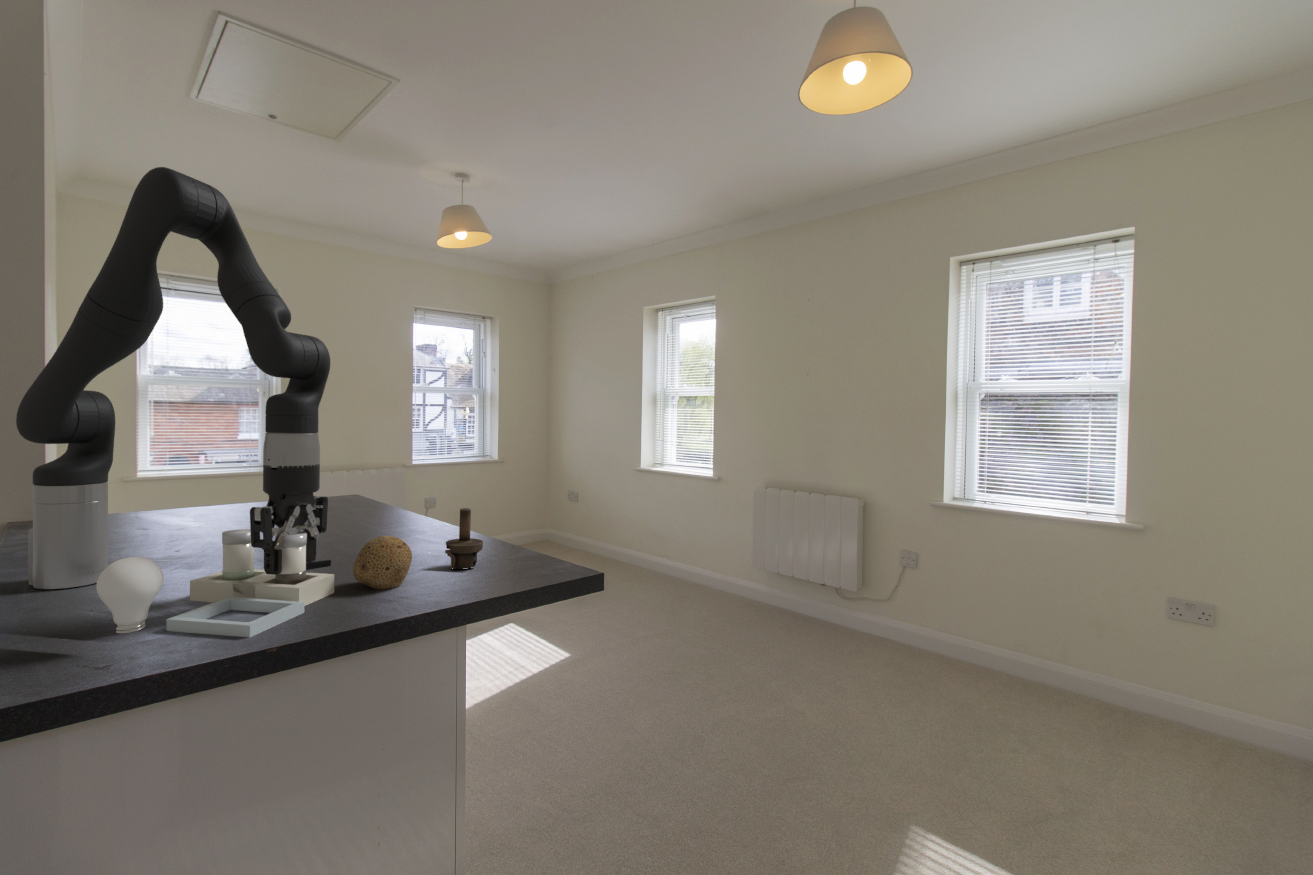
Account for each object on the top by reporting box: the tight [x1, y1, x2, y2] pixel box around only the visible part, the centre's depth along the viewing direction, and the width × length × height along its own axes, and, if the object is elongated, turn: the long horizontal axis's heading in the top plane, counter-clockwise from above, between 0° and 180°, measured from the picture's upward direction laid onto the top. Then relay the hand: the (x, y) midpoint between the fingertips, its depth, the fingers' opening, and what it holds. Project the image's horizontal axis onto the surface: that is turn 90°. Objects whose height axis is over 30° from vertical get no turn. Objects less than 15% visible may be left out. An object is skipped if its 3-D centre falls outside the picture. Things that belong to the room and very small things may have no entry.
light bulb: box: [95, 556, 165, 634], centre depth 78 cm, size 7×7×11 cm
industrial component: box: [444, 507, 484, 570], centre depth 120 cm, size 9×7×12 cm
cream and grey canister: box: [274, 531, 307, 585], centre depth 93 cm, size 4×4×10 cm
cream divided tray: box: [189, 568, 335, 607], centre depth 93 cm, size 18×8×4 cm, turn 83°
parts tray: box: [165, 597, 305, 638], centre depth 82 cm, size 12×10×3 cm
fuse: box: [221, 528, 255, 581], centre depth 94 cm, size 4×4×10 cm
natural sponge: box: [352, 535, 413, 590], centre depth 101 cm, size 9×9×10 cm
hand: (291, 567), depth 93 cm, fingers open, 7 cm apart
